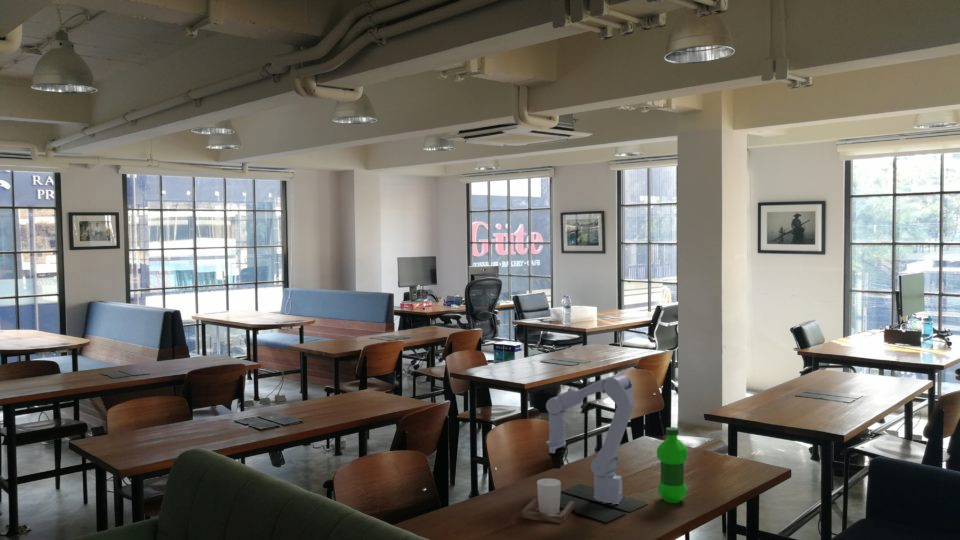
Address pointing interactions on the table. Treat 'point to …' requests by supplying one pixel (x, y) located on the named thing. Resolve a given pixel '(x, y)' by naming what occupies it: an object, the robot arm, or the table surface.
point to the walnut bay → (560, 518)
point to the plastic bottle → (672, 467)
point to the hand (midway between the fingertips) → (557, 467)
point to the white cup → (549, 495)
